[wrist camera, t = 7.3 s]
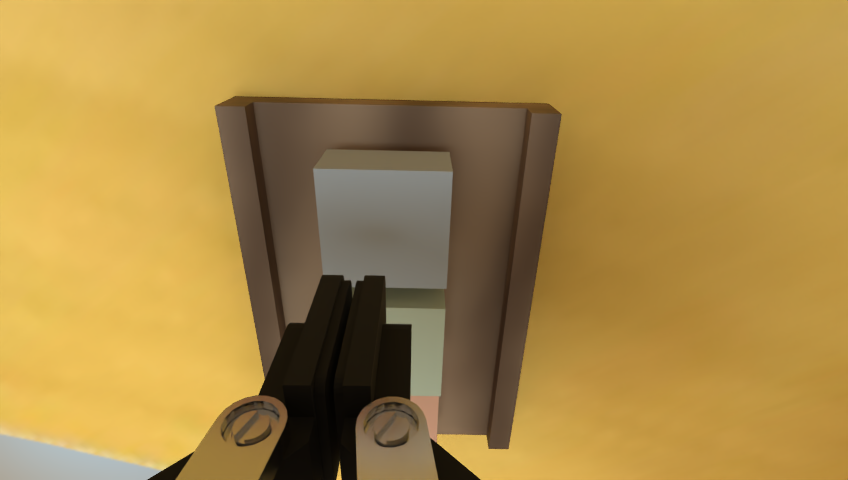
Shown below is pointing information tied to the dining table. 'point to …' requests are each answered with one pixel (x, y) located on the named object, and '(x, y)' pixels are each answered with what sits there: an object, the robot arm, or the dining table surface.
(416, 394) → the key sage
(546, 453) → the dining table surface
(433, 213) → the key slate
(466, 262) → the key board
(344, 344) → the robot arm
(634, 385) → the dining table surface
